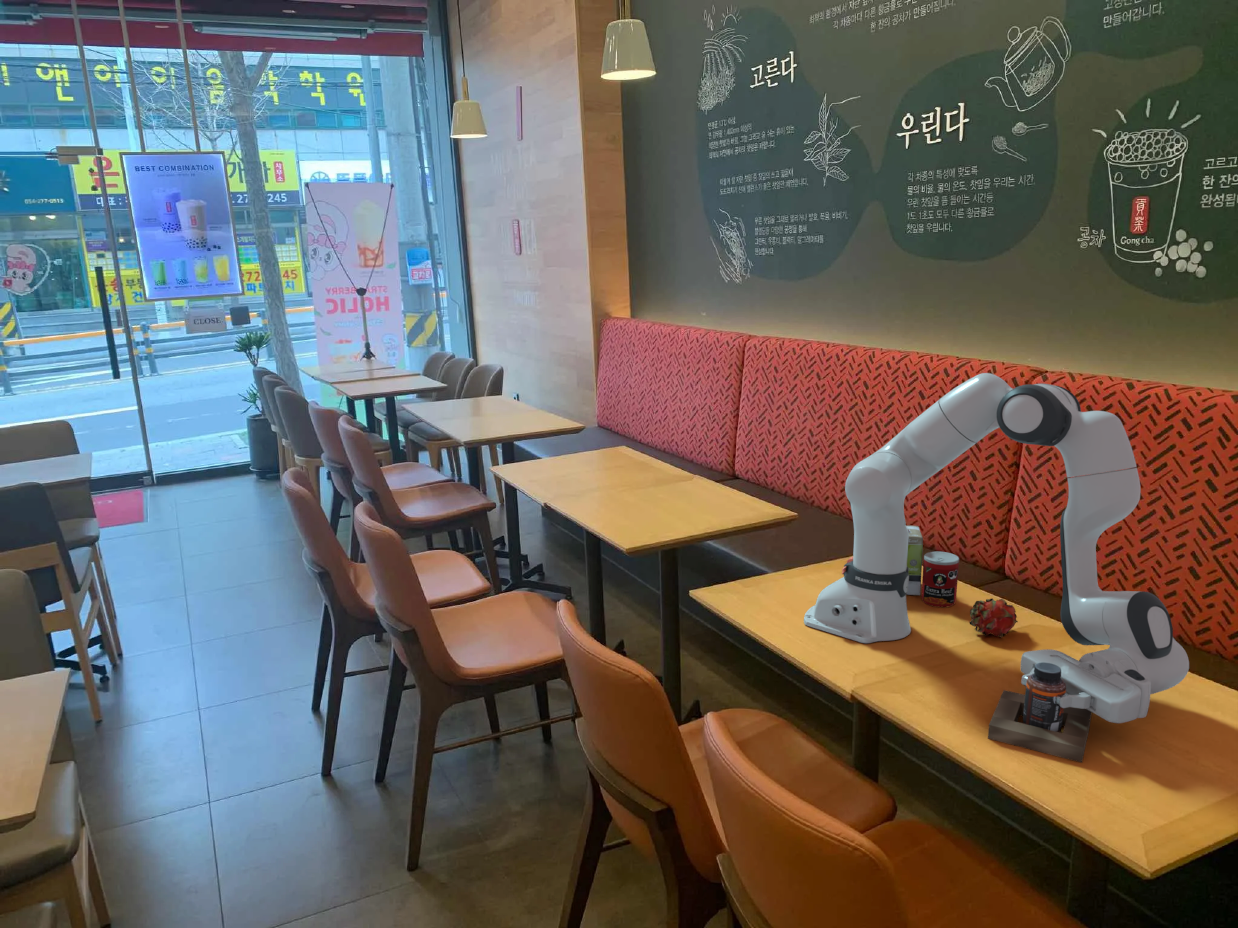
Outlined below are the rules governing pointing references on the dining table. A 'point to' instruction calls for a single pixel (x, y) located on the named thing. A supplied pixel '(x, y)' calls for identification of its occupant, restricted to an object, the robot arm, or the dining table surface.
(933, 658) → the dining table surface
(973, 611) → the dragon fruit
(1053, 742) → the walnut socket block
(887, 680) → the dining table surface
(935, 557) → the canned food
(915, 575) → the tea box
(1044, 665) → the supplement bottle
